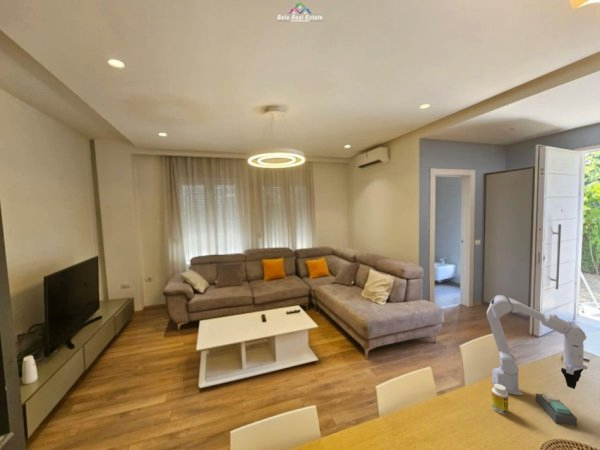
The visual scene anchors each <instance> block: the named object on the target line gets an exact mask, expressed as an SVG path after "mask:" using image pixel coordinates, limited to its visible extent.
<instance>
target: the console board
mask: <svg viewBox="0 0 600 450" xmlns="http://www.w3.org/2000/svg"><path fill="white" fill-rule="evenodd" d="M535 401H536V402H537V404H538V405H539V406H540V407H541V408H542V410H543V411H544V412H545V413H546V414H547V415H548V416H549V417H550V419H551V420H552V421H553V423H555V424H559V425H565V426H571V427H578V423H577V424H573V423H567V422H560V421H555V420H554V419H553V417H552V416H551V415H550V414H549V413H548V412H547V411H546V410H545V408H544V407H543V406H542V405H541V404H540V403H539V402H538V400H537V399H536V398H535ZM549 404H550V403H549ZM555 412H556V411H555ZM556 413H557V412H556ZM559 414H561V413H559Z"/></svg>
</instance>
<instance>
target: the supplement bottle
mask: <svg viewBox="0 0 600 450" xmlns="http://www.w3.org/2000/svg"><path fill="white" fill-rule="evenodd" d="M491 407H492V409H493V410H494V411H495V412H497V413H498V414H501V415H507V414H508V413H509V393H507V392H506V388H505V387H504V386H503V385H501V384H493V387H492V388H491Z"/></svg>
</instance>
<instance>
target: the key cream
mask: <svg viewBox="0 0 600 450" xmlns="http://www.w3.org/2000/svg"><path fill="white" fill-rule="evenodd" d="M541 394H542V397H543V398H544V399H545V400H546V401H547V403H550V401H554V402H561V399H560V398H558V396H556V395H555V394H554V393H553V392H552V393H551V392H543V391H542V392H541Z"/></svg>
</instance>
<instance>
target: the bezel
mask: <svg viewBox="0 0 600 450" xmlns="http://www.w3.org/2000/svg"><path fill="white" fill-rule="evenodd" d="M536 399H537V400H538V402H539V403H540V404H541V405H542V406H543V407H544V408H545V410H546V411H547V412H548V413H549V414H550V415H551V416H552V417H553V419H554V420H555V421H560V422H567V423H573V424H577V425H578V418H577V417H576V415H574V413H572V412H571V411H570V415H567V414H559V413H556V412H555V410H554V409H553V408H552V407H551V406H550V404H549V403H547V401H546V400H545V399H544V398H543V397H542V393H535V400H536Z"/></svg>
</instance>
